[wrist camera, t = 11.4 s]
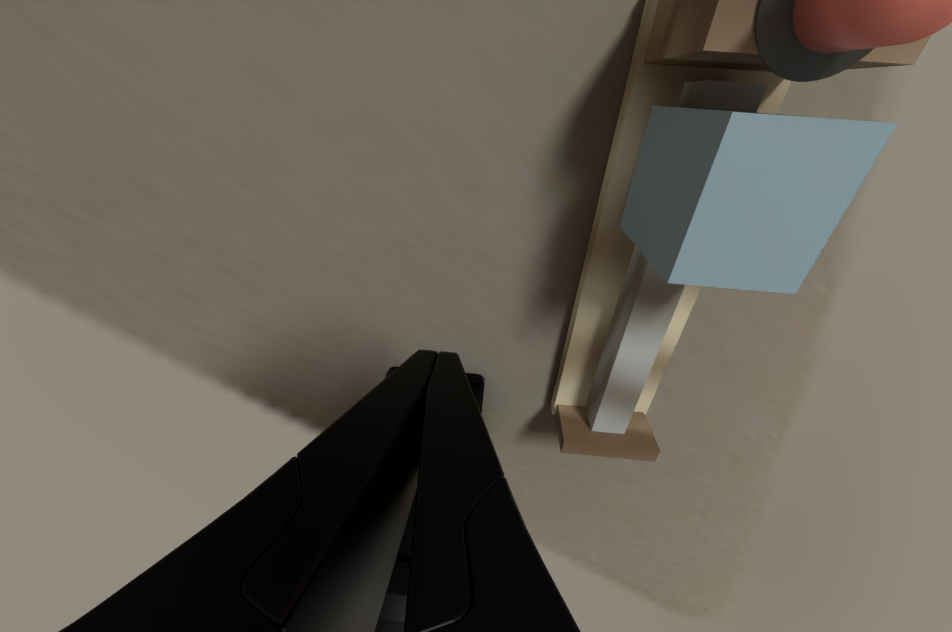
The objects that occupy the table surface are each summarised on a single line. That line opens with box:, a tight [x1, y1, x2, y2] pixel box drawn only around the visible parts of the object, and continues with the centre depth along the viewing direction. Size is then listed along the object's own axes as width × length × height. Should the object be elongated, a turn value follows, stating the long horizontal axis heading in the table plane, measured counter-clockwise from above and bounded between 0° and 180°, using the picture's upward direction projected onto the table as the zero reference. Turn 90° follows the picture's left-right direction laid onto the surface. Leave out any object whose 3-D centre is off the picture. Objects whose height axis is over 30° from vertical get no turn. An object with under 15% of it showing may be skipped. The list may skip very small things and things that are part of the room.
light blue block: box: [619, 105, 897, 294], centre depth 13 cm, size 5×4×6 cm
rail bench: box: [551, 0, 931, 462], centre depth 17 cm, size 23×6×6 cm, turn 177°
